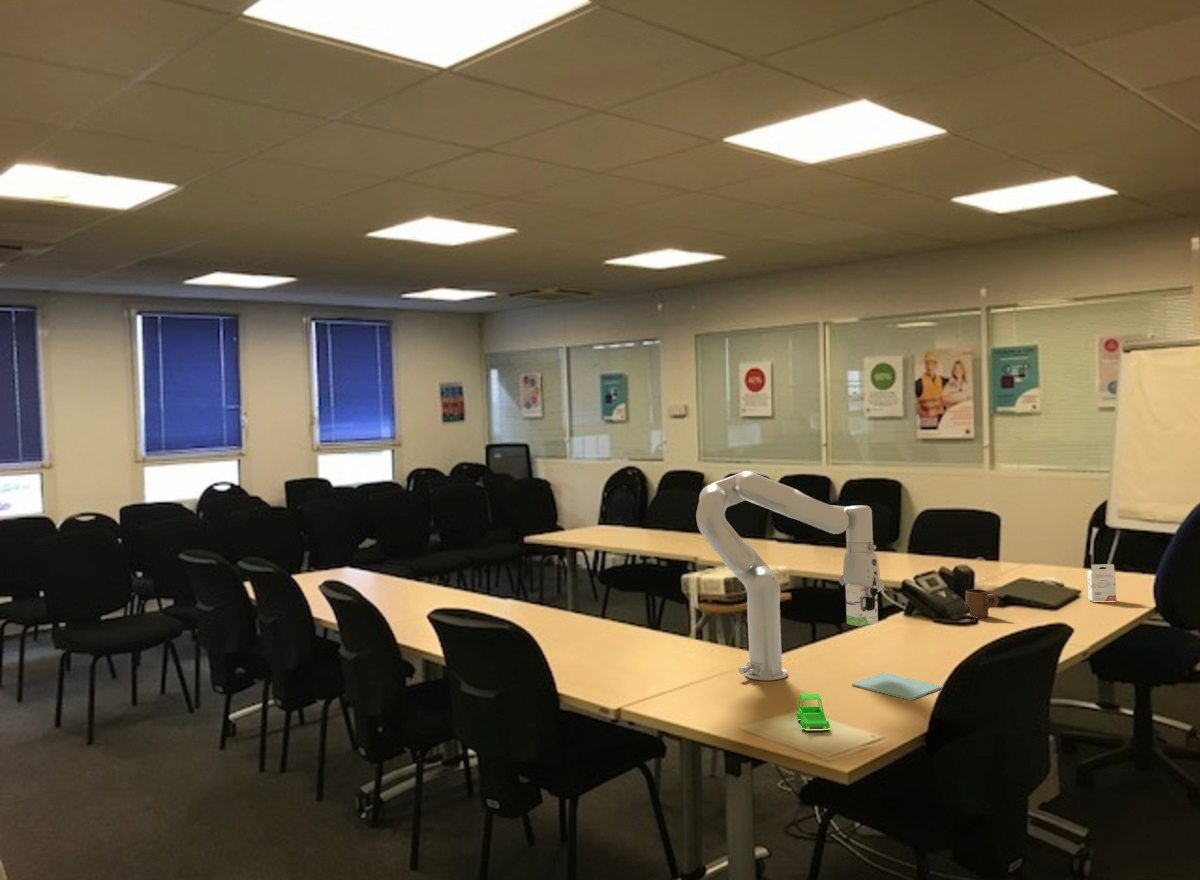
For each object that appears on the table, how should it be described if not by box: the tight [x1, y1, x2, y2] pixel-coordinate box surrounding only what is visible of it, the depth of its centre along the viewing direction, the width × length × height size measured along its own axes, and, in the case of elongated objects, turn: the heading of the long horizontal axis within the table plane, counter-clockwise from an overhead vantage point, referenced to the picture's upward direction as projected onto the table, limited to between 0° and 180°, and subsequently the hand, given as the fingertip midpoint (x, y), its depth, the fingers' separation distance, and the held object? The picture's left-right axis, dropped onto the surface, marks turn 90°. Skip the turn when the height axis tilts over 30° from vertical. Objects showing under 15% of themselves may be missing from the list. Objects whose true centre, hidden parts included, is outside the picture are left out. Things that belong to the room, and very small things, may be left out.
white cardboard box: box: [845, 584, 879, 627], centre depth 272 cm, size 9×5×12 cm, turn 123°
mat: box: [851, 672, 942, 701], centre depth 258 cm, size 15×19×1 cm
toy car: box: [795, 693, 831, 730], centre depth 231 cm, size 11×7×7 cm, turn 176°
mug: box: [965, 588, 1000, 619], centre depth 335 cm, size 12×8×9 cm, turn 40°
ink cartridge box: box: [1086, 563, 1117, 602], centre depth 352 cm, size 9×5×15 cm, turn 80°
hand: (861, 608), depth 272 cm, fingers closed on white cardboard box, 5 cm apart
